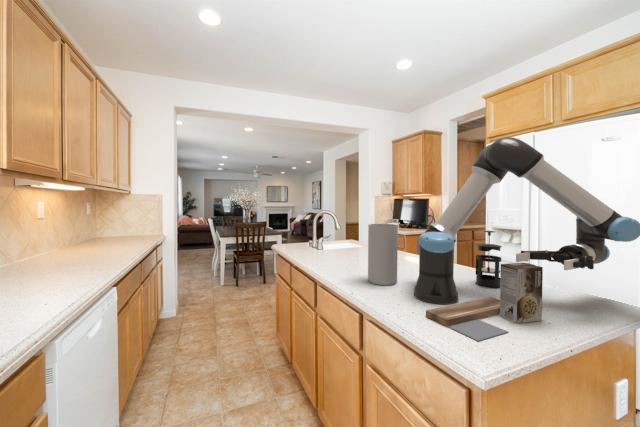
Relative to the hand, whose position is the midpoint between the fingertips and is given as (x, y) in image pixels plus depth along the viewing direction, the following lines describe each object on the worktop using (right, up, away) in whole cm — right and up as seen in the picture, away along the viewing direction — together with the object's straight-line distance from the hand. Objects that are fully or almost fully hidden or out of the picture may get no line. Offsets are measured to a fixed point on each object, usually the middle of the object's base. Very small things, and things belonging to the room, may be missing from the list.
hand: (539, 261), depth 91 cm
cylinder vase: (-42, -15, +36) cm, 57 cm away
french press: (+2, -15, +32) cm, 35 cm away
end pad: (-26, -17, -12) cm, 33 cm away
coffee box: (-9, -17, -4) cm, 19 cm away
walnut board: (-22, -16, -1) cm, 27 cm away
